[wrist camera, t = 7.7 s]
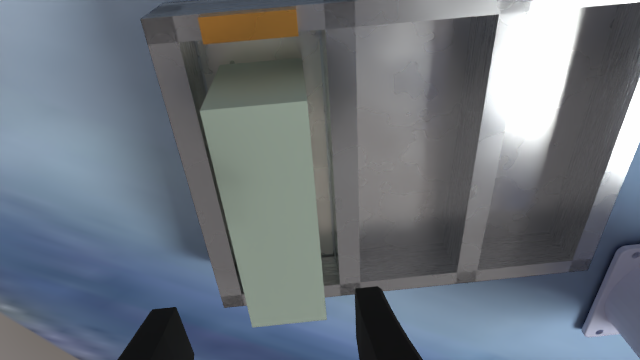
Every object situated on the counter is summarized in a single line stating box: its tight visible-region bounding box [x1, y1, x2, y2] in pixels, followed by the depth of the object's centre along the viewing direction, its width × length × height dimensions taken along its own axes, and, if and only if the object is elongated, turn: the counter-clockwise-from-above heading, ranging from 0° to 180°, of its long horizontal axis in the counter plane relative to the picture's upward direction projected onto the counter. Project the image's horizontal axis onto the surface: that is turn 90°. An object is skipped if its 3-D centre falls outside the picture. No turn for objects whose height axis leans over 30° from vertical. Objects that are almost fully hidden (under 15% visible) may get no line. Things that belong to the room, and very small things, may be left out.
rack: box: [140, 0, 640, 308], centre depth 18 cm, size 18×14×3 cm
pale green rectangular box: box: [200, 58, 327, 327], centre depth 17 cm, size 3×10×4 cm, turn 4°
